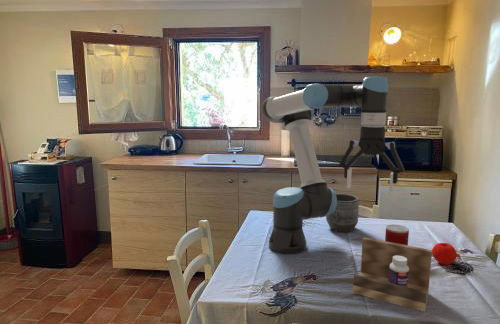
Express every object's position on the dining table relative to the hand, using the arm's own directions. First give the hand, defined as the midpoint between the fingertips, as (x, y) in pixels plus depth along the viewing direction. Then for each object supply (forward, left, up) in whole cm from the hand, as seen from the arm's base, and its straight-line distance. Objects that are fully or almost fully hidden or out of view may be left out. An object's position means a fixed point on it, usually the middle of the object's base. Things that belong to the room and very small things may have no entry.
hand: (369, 190), depth 117 cm
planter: (-19, +37, -29) cm, 51 cm away
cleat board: (+10, -10, -29) cm, 32 cm away
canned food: (+7, +19, -29) cm, 35 cm away
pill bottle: (+12, -11, -26) cm, 31 cm away
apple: (+23, +21, -29) cm, 42 cm away
